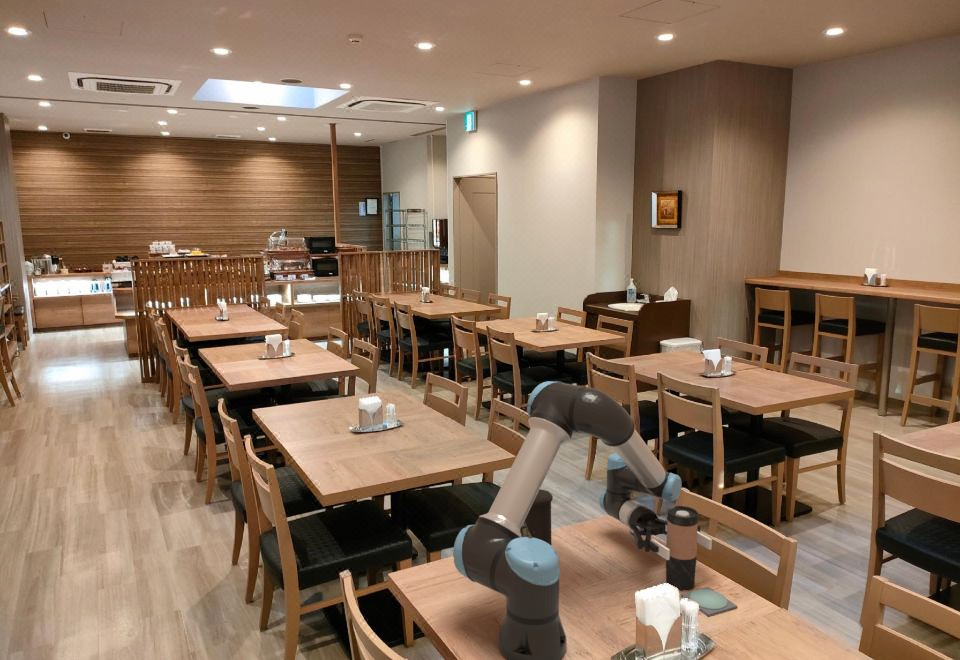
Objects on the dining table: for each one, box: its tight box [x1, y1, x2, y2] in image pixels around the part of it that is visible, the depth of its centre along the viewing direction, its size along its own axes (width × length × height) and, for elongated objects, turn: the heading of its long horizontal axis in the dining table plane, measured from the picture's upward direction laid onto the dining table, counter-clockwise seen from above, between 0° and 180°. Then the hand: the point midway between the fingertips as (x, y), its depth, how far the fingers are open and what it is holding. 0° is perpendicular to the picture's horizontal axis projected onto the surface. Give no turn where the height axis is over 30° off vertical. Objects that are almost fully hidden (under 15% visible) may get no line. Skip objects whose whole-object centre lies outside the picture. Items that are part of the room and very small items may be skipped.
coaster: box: [680, 586, 738, 618], centre depth 169 cm, size 9×10×1 cm
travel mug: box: [665, 505, 699, 592], centre depth 176 cm, size 8×8×20 cm
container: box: [521, 488, 553, 547], centre depth 190 cm, size 9×9×20 cm
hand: (689, 549), depth 173 cm, fingers open, 13 cm apart
